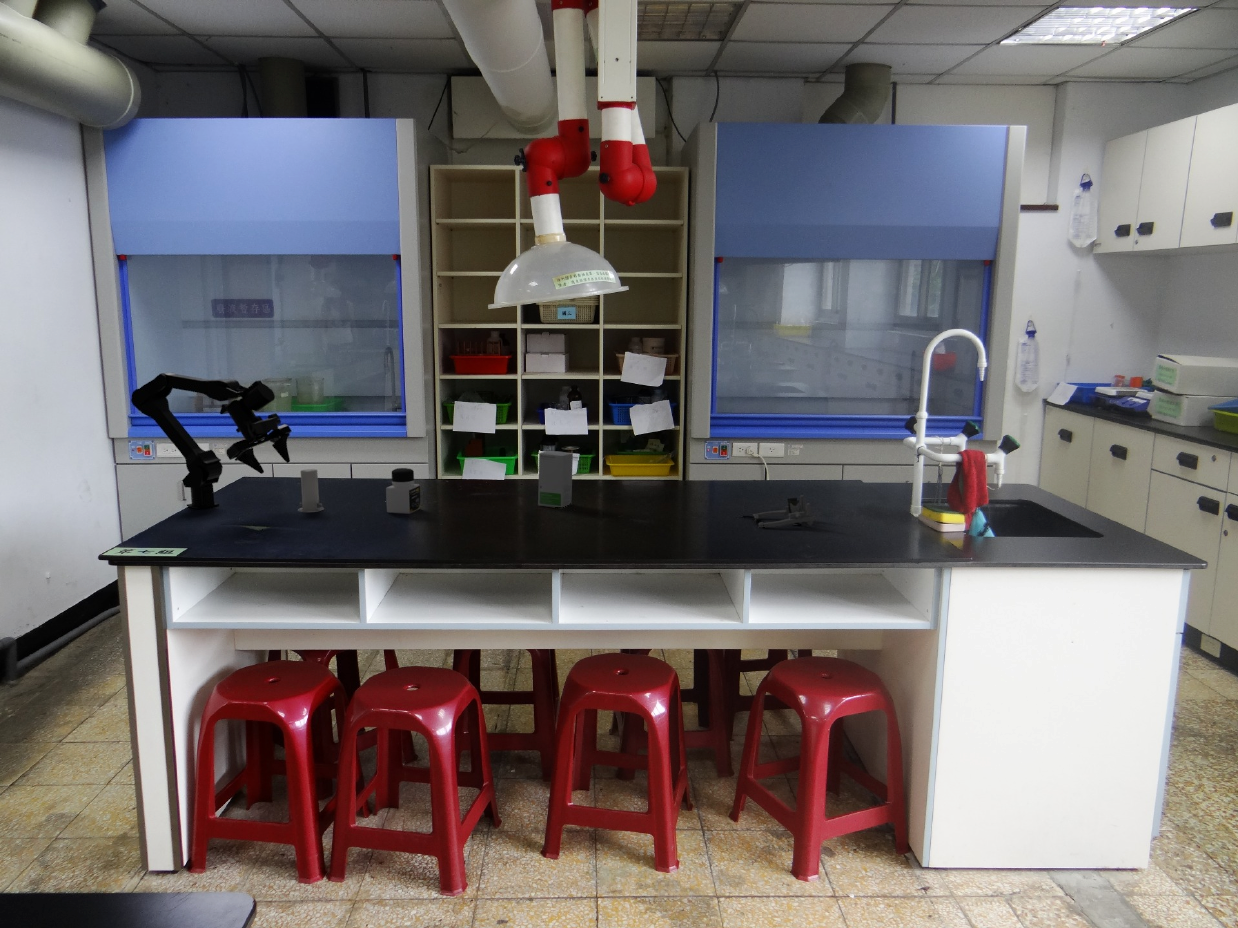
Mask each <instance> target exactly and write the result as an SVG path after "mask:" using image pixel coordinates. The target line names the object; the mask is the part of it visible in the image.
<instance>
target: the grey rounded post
mask: <svg viewBox="0 0 1238 928" xmlns="http://www.w3.org/2000/svg"><path fill="white" fill-rule="evenodd" d="M300 485H301V501H302V502H299V503H298V507H299V508H303V510H304V511H315V510H319V508H321V507H323V503H320V497H319V478H318V469H315V468H314V469H313V468H311V469H310V468H309V469H308V468H307V469H302V470H300Z"/></svg>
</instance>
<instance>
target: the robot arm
mask: <svg viewBox="0 0 1238 928" xmlns="http://www.w3.org/2000/svg"><path fill="white" fill-rule="evenodd" d="M173 390H181V391H187V392H193V393H197V394H202V395H205V396H206V397H208V398H209V399H212V400H214V401H218V402H226V401H230V402H229V403H224V404H221V409H220V412H219V414H220V415H227V414H228V415H229V416H230V418H231V419H232V420H233V422H234V424H235V426H236V427H237V428H236V429H235V431H236V433H237V434H239V433H240V434H241V435H242V437H243V438H244V439H242V440H238V441H236V442H234V443H233V444H232V445H230V446H229V447H228V448H227V449H226V451H225V452H226V456H227V457H228V459H229V460H230V461H231V460H233V459H234V461H235V462H237V461H239V462H241V463H243V464H244V465H246V466H248V467H250V468H251V469H252V470H255V471H256V472H258V473H259V474H264V473H265V471H264V468H263V466H262V464H261V463H260V461H258V459H257V457H256V455H255V453H254V447H257V446H261V445H263V444H264V443H268V442H271V443H273V444H271V446H272V447H273V448H274V450H275V451H276V452H277V453H278V454H279V456H280V457H281V458H282V460H283V461H285V463H287V464H288V463H290V462H291V459H290V454H289V450H288V442H287V441H288V438H289V437H290V434H291V433H292V432H293V431H292V428H290V426H289V425H288V424H282V420H281V418H280V417H279V415H278V414H277V412H275V413H272V414H269V415H267V418H266V419H263V418H262V417H261V416H260V415H258V416H256V414H255V412H259V411H260V410H262V409H263V408H264V407H265V408H266V406H268V405H269V404H271V403H272V402H273V401H274V400H275V398H276V396H275V393H274V391H273V389H271V388H270V387H269V386H268V385H266V384H265V383H263V382H262V380H255V381H253V382H252V384H250V386H248V387H247V386H244V385H242V384H240V383H239V381H238V380H237V379H234V378H233V379H232V378H224V379H206V378H201V377H196V376H195V377H194V376H189V375H184V374H183V375H182V374H178V373H174V372H163V373H159V374H157V375H156V376H155V377H154V378H153V379H152V380H150V381H148V382H147V383H145V384H143V385H142V386H141V387H139V388H137V389H134V390H133V391H132V394H131V399H130V402H131V403H132V406H133V407H135V408H136V409H137V410H138V411H139V412H140V413H141V414H142V415H145V416H146V417H149V418H150V419H153V421H154V422H155V423H156V424H157V425H158V427H159V428H160V429H161V431H162V432H163V433H164V434H165V435H166V436H167V438H168V439H169V440H170V441H171V443H172V444H173V445H174V447H175V448H176V449H177V450H178V451H179V453H180V454H181V456H183V458H184V460H185V464H186V469H187V472H188V474H186V475H185V476H184V478H183V479H182V483H183V484H182V485H183V487H184V488H189V489H190V499H191V503H187V504H186V507H187V508H192V509H196V510H201V509H206V508H211V507H216V506H217V507H218V506H220V503H219V502H215V491H214V485H213V484H217V483H219V481H220V480H219V479H220V477H221V475H222V474H223V468H224V467H223V464H222V463H221V461H222V459H220V458H219V457H218V456H217V455H216V453H215V452H214V450H212V449H208V450H204V449H203V448H201V447H200V445H199V444H198V443H197V442H196V441H195V439H194V438H193V437H192V436H191V435H190V433H189V432H188V431H187V429H186V428H185V427H184V425H182V423H181V422H180V421H179V420H178V418H177V417H176V416H175V415H174V414H173V412H172V411H171V410H170V403H169V400H168V398H167V397H168V396H169V395H171V393H172V391H173ZM281 424H282V425H281Z"/></svg>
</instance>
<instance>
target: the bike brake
mask: <svg viewBox="0 0 1238 928" xmlns="http://www.w3.org/2000/svg"><path fill="white" fill-rule="evenodd" d="M799 499H800V500H798V497H791V498H787V499H786V500H787V505H786V506H785V509H782V510H781V509H780V510H773V511H771V510H769V511H763V512H759V513H753V514H752V515H742V516H743V517H748V519H753V520H754V519H755V520H754V522H755V521H756V522H755V523H756V525H758V528H759V527H765V528H772V527H773V528H775V527H780V526H785V525H786V526H787V525H792V524H802V523H806V524H808V526H812V525H813V523H814V522H815V521H816V516H815V515H812V509H811V503H810V502H809V503H805V496H804V494H803V495H799ZM774 516H778V517H779V516H788V518H785V519H781V520H777V521H770V522H763V521H762V520H760V518H765V517H774Z"/></svg>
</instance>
